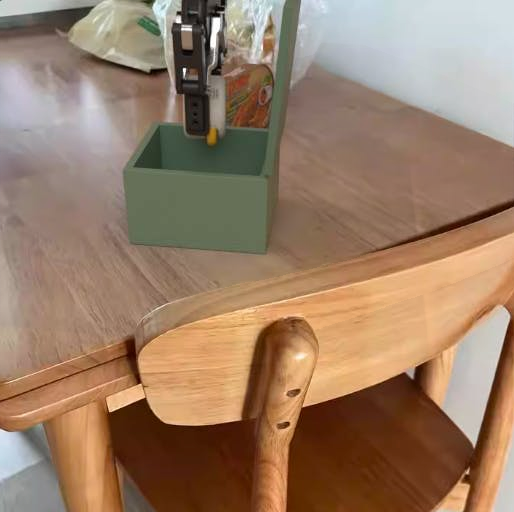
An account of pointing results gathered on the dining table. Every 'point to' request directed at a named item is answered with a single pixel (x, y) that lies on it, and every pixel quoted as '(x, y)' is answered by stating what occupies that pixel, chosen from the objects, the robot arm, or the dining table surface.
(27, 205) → the dining table surface
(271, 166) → the lid
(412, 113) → the dining table surface
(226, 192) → the chest
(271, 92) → the tin
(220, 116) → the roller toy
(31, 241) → the dining table surface
